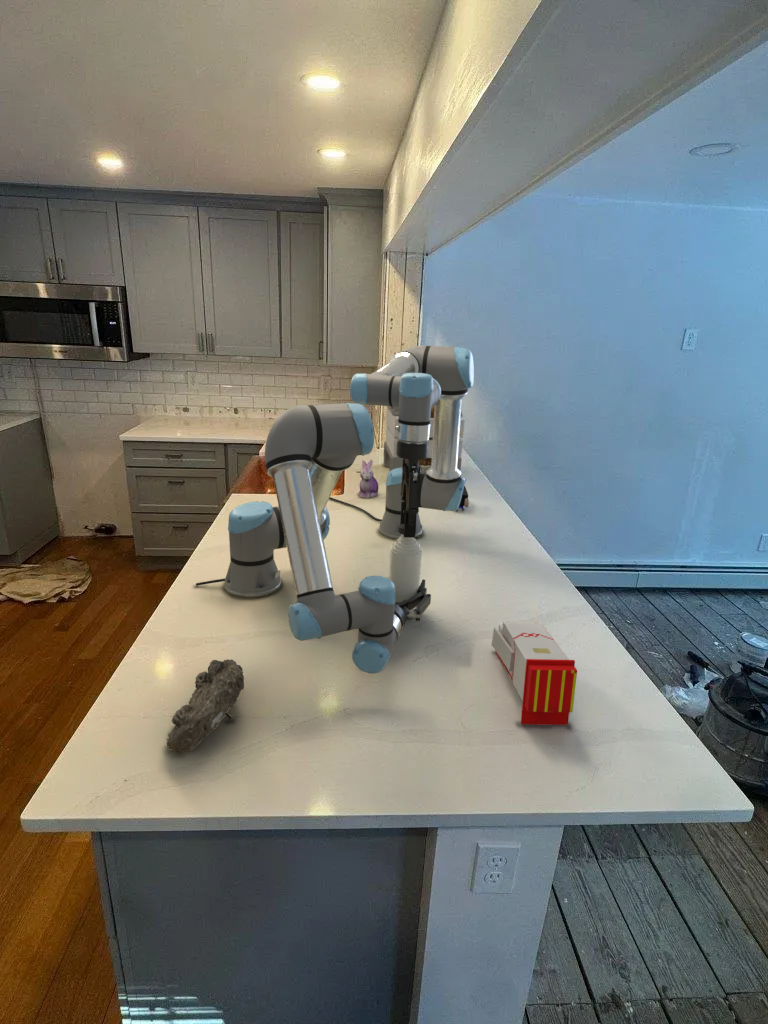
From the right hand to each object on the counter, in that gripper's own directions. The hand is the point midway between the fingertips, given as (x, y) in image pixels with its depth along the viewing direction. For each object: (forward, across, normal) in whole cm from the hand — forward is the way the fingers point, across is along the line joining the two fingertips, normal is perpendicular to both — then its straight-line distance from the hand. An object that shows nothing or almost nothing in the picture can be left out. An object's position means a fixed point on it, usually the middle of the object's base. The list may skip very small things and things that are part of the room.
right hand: (407, 531), depth 141 cm
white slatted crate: (+23, -132, +25) cm, 136 cm away
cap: (-1, 0, 0) cm, 1 cm away
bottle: (+23, 0, 0) cm, 23 cm away
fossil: (+23, +39, -42) cm, 62 cm away
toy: (+23, +31, +23) cm, 45 cm away
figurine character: (+23, -83, +34) cm, 92 cm away
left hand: (+16, -4, +2) cm, 17 cm away
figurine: (+23, -97, -2) cm, 100 cm away
